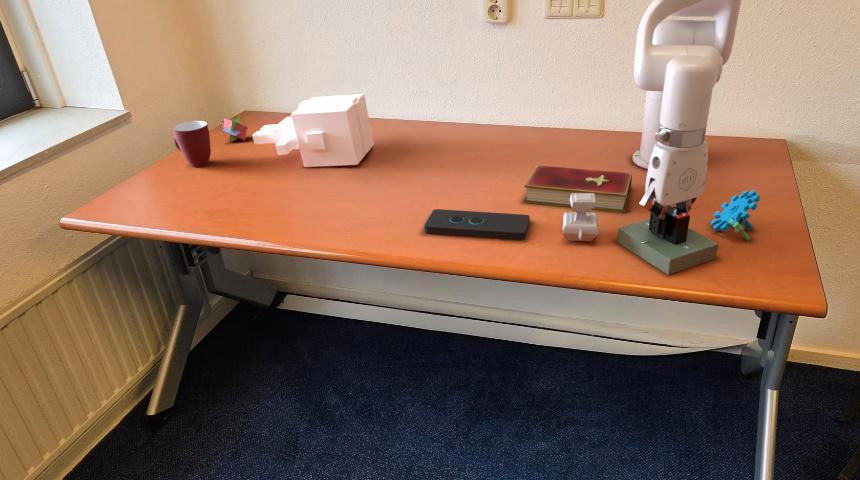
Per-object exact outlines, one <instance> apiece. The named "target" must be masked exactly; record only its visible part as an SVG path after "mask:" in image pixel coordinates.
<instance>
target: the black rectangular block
mask: <svg viewBox="0 0 860 480" xmlns="http://www.w3.org/2000/svg"><path fill="white" fill-rule="evenodd" d="M658 208H659V209H660V208H661V205H660V204H659V206H658ZM687 213H688V212H687ZM687 213H683V212H681V211H679V210H677V209H675V208H674V206H672V205H669V206H668V209H667V213H666V216H665V218H667V219H668V222H667V229H666V236H665V238H664V239H666V240H667V241H669V242H671V243H673V244H674V245H677V244H680V243H683V242H686V239H687V233H688V228H689V226H690V219H691V216H690V214H689V213H688V214H687ZM652 217H653V215H652V214H650V216H649V219H650V223H649V230H650V231H651V224H652Z"/></svg>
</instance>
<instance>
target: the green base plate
mask: <svg viewBox="0 0 860 480" xmlns="http://www.w3.org/2000/svg"><path fill="white" fill-rule="evenodd" d="M649 223H650V218H647V219H644V220H641V221H637V222H634V223H629V224H626V225H623V226H621V227H618V229H617V238H616V243H618V244H619V245H621V246H623V247H624V248H626V249H627V250H629V251H630V252H632V253H634V254H635V255H637V256H638V257H639V258H641V259H642V260H644V261H646V262H647V263H649V264H651V265H652V266H654V267H655V268H657V269H658V270H659V271H662V272H663V273H665V274H666V275H668V276H669V275H672V274H675V273H678V272H680V271H683V270H686V269H689V268H692V267H695V266H699V265H701V264H705V263H707V262H709V261H713V260H715V259H716V258H717V255H718V248H719V243H717V242H716V241H714V240H712V239H710V238H708V237H707V236H705V235H703V234H701V233H699V232H698V231H695V230H694V229H692V227H688V233H687V239H686V242H683V243H680V244H677V245H674V244H673V243H671V242H669V241H667V240H666V239H660V238H659V237H657V236H655V235H653V234H652V233H651V231H650V230H649Z"/></svg>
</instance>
